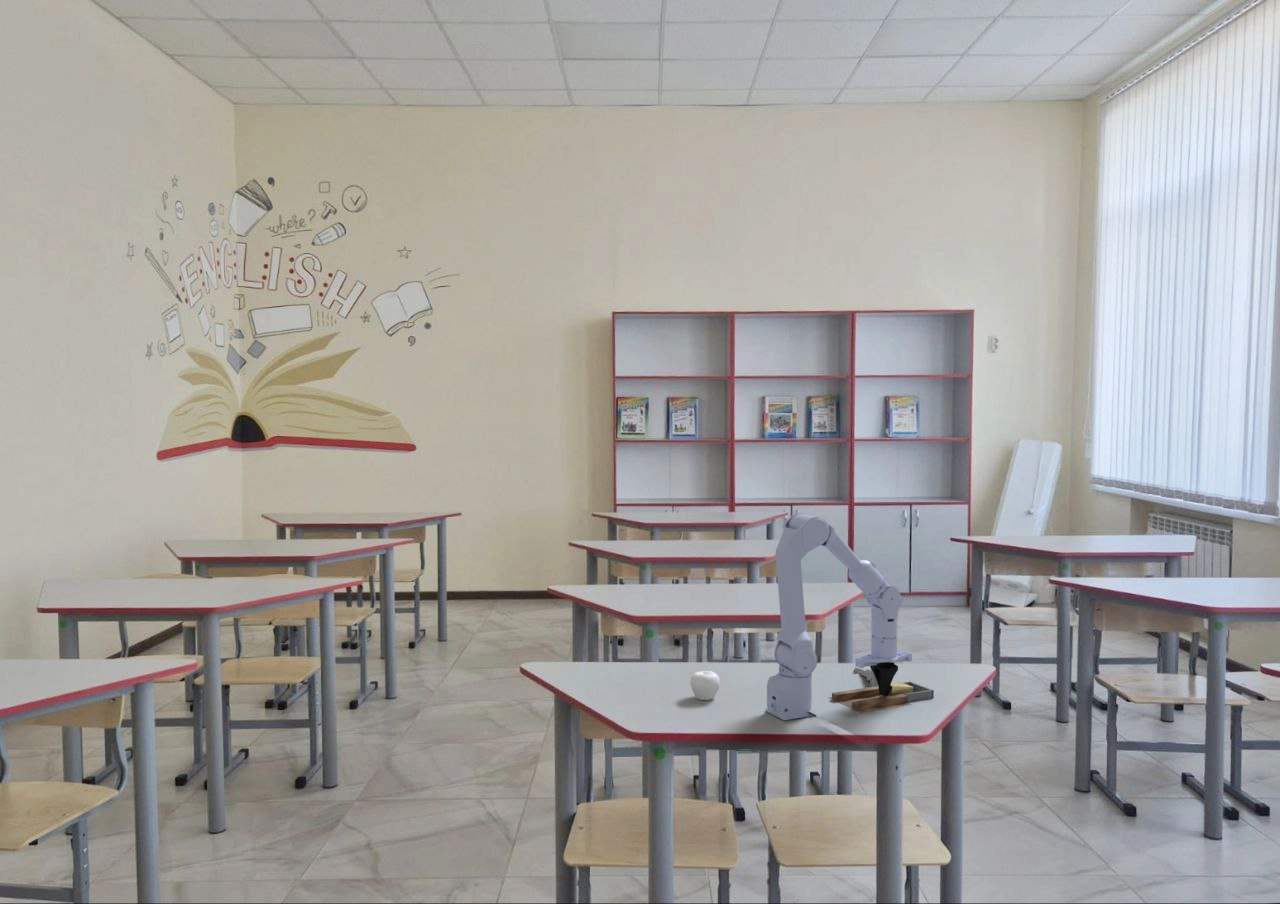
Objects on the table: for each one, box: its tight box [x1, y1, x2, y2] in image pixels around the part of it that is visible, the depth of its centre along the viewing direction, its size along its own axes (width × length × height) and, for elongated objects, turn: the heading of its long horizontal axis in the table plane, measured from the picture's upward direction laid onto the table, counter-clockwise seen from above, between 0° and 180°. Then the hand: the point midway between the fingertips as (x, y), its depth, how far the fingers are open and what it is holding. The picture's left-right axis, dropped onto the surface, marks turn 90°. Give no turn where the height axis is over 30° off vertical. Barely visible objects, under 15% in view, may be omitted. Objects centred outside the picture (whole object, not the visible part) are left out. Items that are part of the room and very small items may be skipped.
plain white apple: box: [689, 664, 721, 701], centre depth 219 cm, size 7×7×8 cm
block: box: [882, 681, 914, 697], centre depth 215 cm, size 6×4×3 cm, turn 113°
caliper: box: [853, 666, 878, 687], centre depth 233 cm, size 20×1×6 cm, turn 0°
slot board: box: [829, 686, 913, 713], centre depth 212 cm, size 14×12×3 cm
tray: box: [902, 681, 935, 703], centre depth 217 cm, size 8×8×3 cm
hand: (883, 695), depth 214 cm, fingers closed
